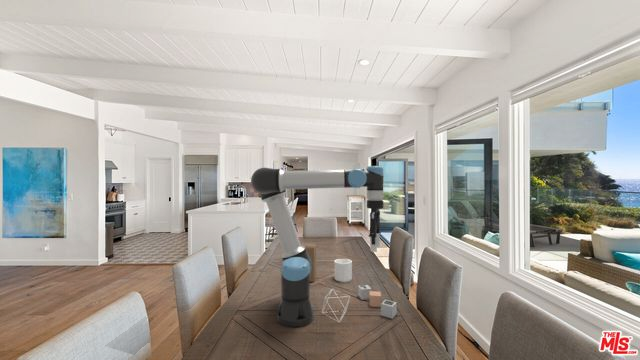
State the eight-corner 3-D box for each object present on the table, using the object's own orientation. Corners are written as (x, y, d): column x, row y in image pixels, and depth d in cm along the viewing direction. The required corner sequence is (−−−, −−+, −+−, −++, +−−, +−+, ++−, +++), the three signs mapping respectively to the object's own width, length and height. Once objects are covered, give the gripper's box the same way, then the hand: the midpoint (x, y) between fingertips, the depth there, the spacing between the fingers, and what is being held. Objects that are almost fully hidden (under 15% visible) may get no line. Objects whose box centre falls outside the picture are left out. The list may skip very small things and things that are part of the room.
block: (316, 276, 164) (316, 242, 164) (314, 282, 154) (314, 246, 154) (299, 276, 165) (299, 242, 165) (296, 282, 155) (296, 246, 155)
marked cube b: (371, 299, 133) (371, 288, 133) (361, 300, 132) (361, 288, 132) (367, 295, 138) (367, 284, 138) (358, 295, 137) (358, 284, 137)
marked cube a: (392, 319, 114) (392, 306, 114) (380, 315, 117) (380, 303, 117) (396, 314, 118) (396, 301, 118) (385, 311, 121) (385, 298, 121)
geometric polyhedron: (317, 318, 114) (317, 296, 114) (326, 307, 124) (326, 287, 124) (346, 324, 110) (346, 301, 110) (353, 312, 120) (353, 291, 120)
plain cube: (380, 307, 124) (380, 296, 124) (369, 306, 125) (369, 295, 125) (380, 302, 129) (380, 291, 129) (369, 301, 130) (369, 291, 130)
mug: (353, 281, 155) (353, 263, 155) (335, 282, 155) (335, 263, 155) (349, 274, 168) (349, 257, 168) (333, 274, 167) (333, 257, 167)
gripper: (380, 201, 116) (380, 255, 116) (386, 198, 136) (386, 245, 136) (362, 201, 119) (362, 254, 119) (370, 198, 138) (370, 243, 138)
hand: (375, 249), depth 127 cm, fingers open, 8 cm apart
